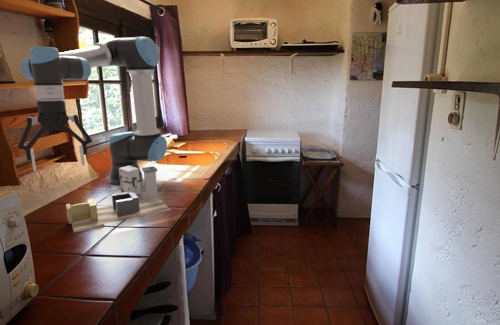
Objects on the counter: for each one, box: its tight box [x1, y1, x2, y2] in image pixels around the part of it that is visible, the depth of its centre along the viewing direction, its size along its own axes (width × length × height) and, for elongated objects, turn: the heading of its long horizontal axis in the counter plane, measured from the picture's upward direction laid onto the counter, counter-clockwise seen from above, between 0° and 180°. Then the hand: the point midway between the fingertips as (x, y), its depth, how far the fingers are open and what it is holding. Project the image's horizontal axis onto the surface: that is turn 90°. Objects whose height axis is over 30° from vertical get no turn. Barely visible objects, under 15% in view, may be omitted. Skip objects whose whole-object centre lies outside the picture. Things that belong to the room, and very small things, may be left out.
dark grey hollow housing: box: [111, 192, 140, 217], centre depth 123 cm, size 10×8×6 cm
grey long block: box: [141, 166, 159, 202], centre depth 133 cm, size 5×5×13 cm
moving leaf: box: [65, 197, 98, 225], centre depth 116 cm, size 8×9×5 cm
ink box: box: [119, 166, 141, 196], centre depth 142 cm, size 9×5×12 cm, turn 47°
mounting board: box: [71, 197, 171, 233], centre depth 123 cm, size 16×32×1 cm, turn 121°
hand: (59, 167), depth 109 cm, fingers open, 13 cm apart
